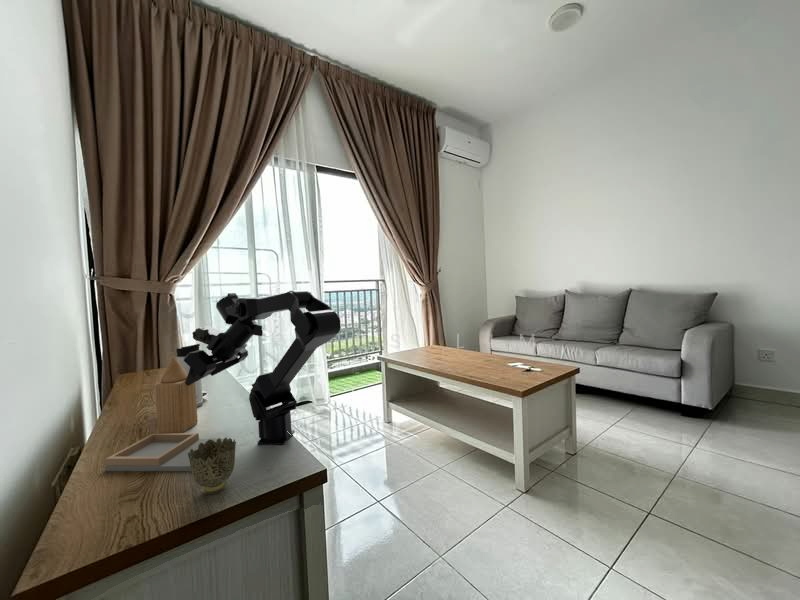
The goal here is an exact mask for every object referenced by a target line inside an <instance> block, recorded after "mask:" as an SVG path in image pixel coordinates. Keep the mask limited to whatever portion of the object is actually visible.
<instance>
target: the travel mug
mask: <svg viewBox="0 0 800 600" xmlns="http://www.w3.org/2000/svg"><path fill="white" fill-rule="evenodd" d="M200 346H201V344H200V343H196V344H192V345H186V346H181V347H180V348H179V347H178V348H176V359H177V361H178V362H179V363H180V365H181V366H182V368H183V369H184V370H185V372H186V373H187V374H188V373H189V369H190V366H189V365H188V364H186V363H185V362H184V358H185V356H186V355H187V354H188V353H190V352H194V351H198V350H200ZM202 379H203V378H202ZM202 379H200V380H198V381H197V382H195V389H196V405H197V407H198V408H200V407H202V406H203V405H204V397H203V381H202ZM201 405H202V406H201ZM199 406H200V407H199Z"/></svg>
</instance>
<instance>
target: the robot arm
mask: <svg viewBox="0 0 800 600" xmlns="http://www.w3.org/2000/svg"><path fill="white" fill-rule="evenodd" d="M215 307H216V309H217V311H218V313H219V314H220V316H221V318H222V319H223V320H224V322H225V324H226V325H230V326H229V327H228V328H227V330H226V331H224V332H223V330H220V329H217V328H215V327H213V326H211V325H206V326H200V327H197V328H195V330H194V331H193V332H192V339H193V340H195V341H198V342H199V343H203V344H205V345H206V349H208V351H210V353H211V354H210V355H209V354H208V353H207V352H206V351H205V350H204V349H202V350H201V349H199V350H198V351H194V352H190V353H188V354H187V355H186V356H185V358H184V362H185V363H186V364H188V365H189V366H190V369H189V373H188V376H187V378H186V381H185V384H186V385H187V386H189V385H191V384H193V383H195V382H197V381H198V380H200V379H204V378H206V377H208V376H209V375H210V376H212V377H213V376H215V375H217V374H219V373H221V372H223V371H225V370H227V369H229V368H231V367H233V366H235V365H238V364H239V363H241V362H242V361H245V360H246V358H248V357H249V351H248V350H247V349H246V347H247V346H248V344H247V342H248V341H250V339H251V338H252V337H253V336H256V337H258V336H259V337H263V333H264V332H263V325H261V324H258V323H257V322H256V320H257V321H258V320H259V321H260V320H266V319H267V318H269V317H271V316H272V315H273V314H274V313H278V312H284V311H289V313H290V314H289V316H290V317H289V318H290V322H291V323H292V325H293V326H294V333H295V339H294V341H292V343H291V345H289V346H288V349H287V350H286V352H285V353H284V355H283V356H282V358H281V359H280V360H279V362H278V364H276V366H275V368H274V369H273V370H272V372H267V373H263V374H260V375H258V376H257V377H256V378H255V381H254V383H252V384H251V390H250V393H249V396H248V401H249V404H250V408H251V411H252V412H251V413H252V415H253V418H255V421H257V422H258V423H257V424H258V438H259V440H258V441H257V445H285V444H286V443H287V441H288V440H289V439H290V438H291V437H292V436H293V435H294V434H295V430H294V429H292V418H291V411H293V410H296V409H297V403H298V402H297V400H296V398H295V396H294V395H293V393H292V392H291V391H292V388H291V385H290V384H291V383H292V381H293V380H294V379H295V378H296V377H297V375H298V373H300V371H301V369H302V368H303V367H304V365H305V364H306V363H307V362H308V360H309V359H310V358H311V356H312V355H313V353H314V352H315V351H316V350H317V349H318V348H319V347H321V346H322V345H324V344H326V343H328V342H330V341H331V340H332V339H333V338H335V336H337V335H338V334H339V333H340V331H341V328H342V325H341V319H340V317H339V315H338V313H337V312H336V311H335V310H333V308H331V306H330V305H328V304H327V303H325V302H323V301H322V300H320V299H318V298H316V297H315V296H314V295H313V294H312V293H311V292H310V291H309V290H305V289H302V290H301V289H300V290H299V289H298V290H297V289H296V290H289V291H287V292H284V293H280V294H275V295H271V296H267V297H266V296H259V297H258V296H257V297H256V296H255V297H239V296H238V295H237V293H235V292H228V293H227V295H226V296H224V297H222V298H221V299H219V300H218V301H217V302H216V304H215ZM301 309H305V310H307V311H306V312H305V311H304V312H303V311H302V310H301ZM279 404H280V405H279ZM274 405H276V406H274ZM272 406H273V407H272ZM268 408H269V409H268ZM287 431H288V432H289V433H290V434H291V435H292V436H291V435H290V434H289V433H288V432H287Z"/></svg>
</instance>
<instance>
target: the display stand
mask: <svg viewBox="0 0 800 600" xmlns="http://www.w3.org/2000/svg"><path fill="white" fill-rule="evenodd" d="M199 437H200V436H199V432H183V433H151V434H149V435H148V436H146V437H143V438H142V439H140V440H138V441H136V442H135V443H133V444H130V445H129V446H127V447H124V448H123V449H121V450H119V451H117V452H116V453H114V454H112V455H109V456H108V457H106V458H105V461H106V462H105V463H106V464H105V465H104V471H105V472H192V470H191V466H190V461H189V457H188V453H189V452H190V449H193V450H194V451H195V450H198V447H199V446H198V445H199V443H203V444H205V443H206V442H207V441H208V440H209V439H210V440H213V441H214V442H217V439H218V438H199ZM220 439H221V441H223V440H224V438H220ZM227 439H228V440H229V438H227ZM231 440H232V441H233V438H231Z"/></svg>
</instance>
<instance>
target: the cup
mask: <svg viewBox="0 0 800 600" xmlns="http://www.w3.org/2000/svg"><path fill="white" fill-rule="evenodd" d="M208 439H209V440H208V441H207V442H206V443H205V444H203V443H199V445H198V446H199V447H198V450H195V451H194V450H193V449H190V452H189V453H188V457H189V461H190V466H191V470H192V471H191V475H192V478H193V479H194V482H195V483H196V484H197V485H199V486H200V487H203V488H202V489H203V492H204V493H205V495H215V494H219V493H220V492H222V491H224V490H225V488H226V486H227V482H228V481H227V480H228V479H229V478H230V477H231V475H232V473H233V471H234V468H235V460H236V444H237V441H236V439H232V438H231V437H229V438H227V437H225V438H223V439H224V440H223V441H221V439H222V438H220V437H219V438H216V439H217V442H214V441H213V440H210V439H211V438H208ZM228 439H229V440H228ZM231 439H232V440H231Z"/></svg>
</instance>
